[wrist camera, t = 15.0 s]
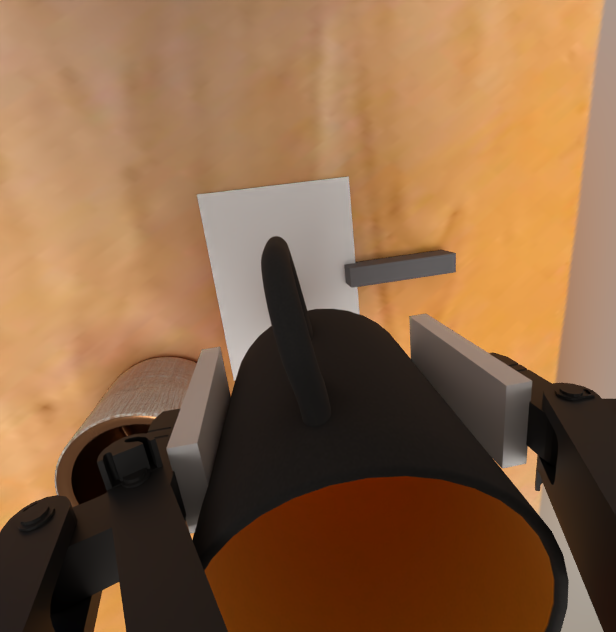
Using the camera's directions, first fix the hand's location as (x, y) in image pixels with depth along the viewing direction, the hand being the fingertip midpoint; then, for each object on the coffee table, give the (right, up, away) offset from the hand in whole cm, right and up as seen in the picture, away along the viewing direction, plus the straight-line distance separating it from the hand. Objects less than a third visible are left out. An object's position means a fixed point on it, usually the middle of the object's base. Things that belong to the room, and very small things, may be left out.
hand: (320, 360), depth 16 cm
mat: (-2, +5, +16) cm, 16 cm away
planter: (-13, -7, +18) cm, 23 cm away
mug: (0, 0, +1) cm, 1 cm away
